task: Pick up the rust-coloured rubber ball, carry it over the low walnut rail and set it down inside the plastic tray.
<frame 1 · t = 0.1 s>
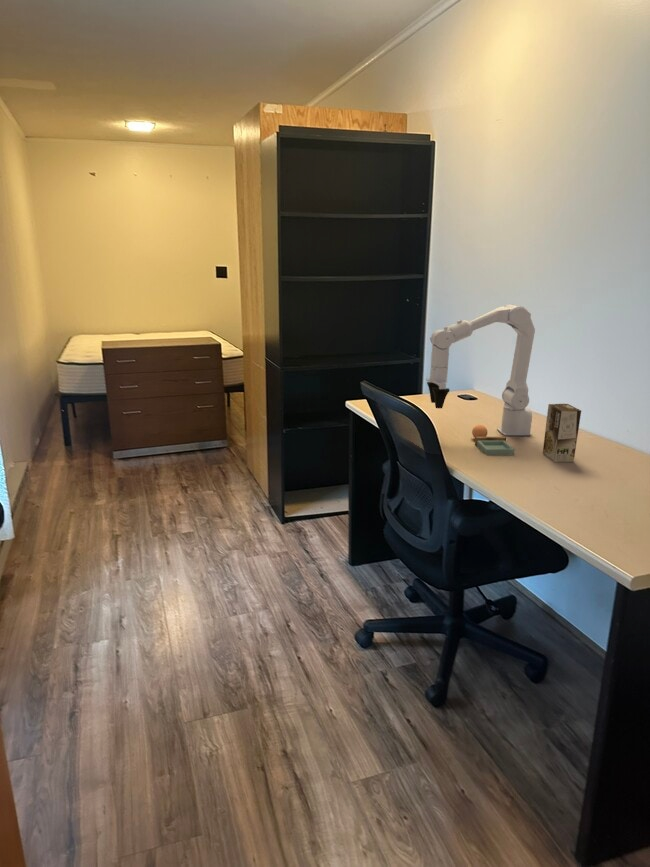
hand: (436, 405, 203), 10 cm above the table, tool pointing down, fingers open, 7 cm apart
rail: (490, 444, 195), on the table
tray: (495, 450, 189), on the table
coffee box: (557, 457, 183), on the table
ball: (479, 439, 200), on the table
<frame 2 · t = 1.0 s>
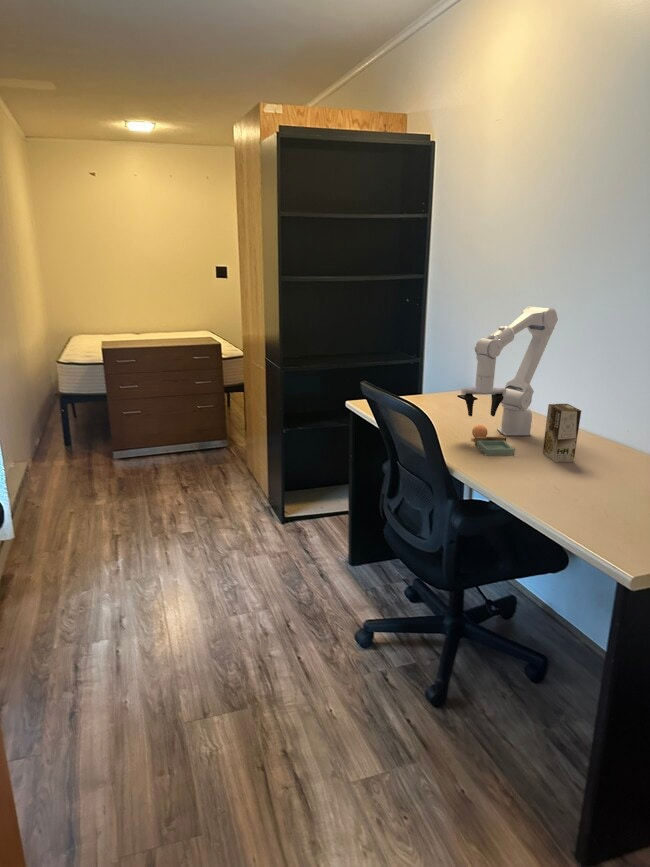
hand: (481, 415, 197), 8 cm above the table, tool pointing down, fingers open, 7 cm apart
nothing on the table moved.
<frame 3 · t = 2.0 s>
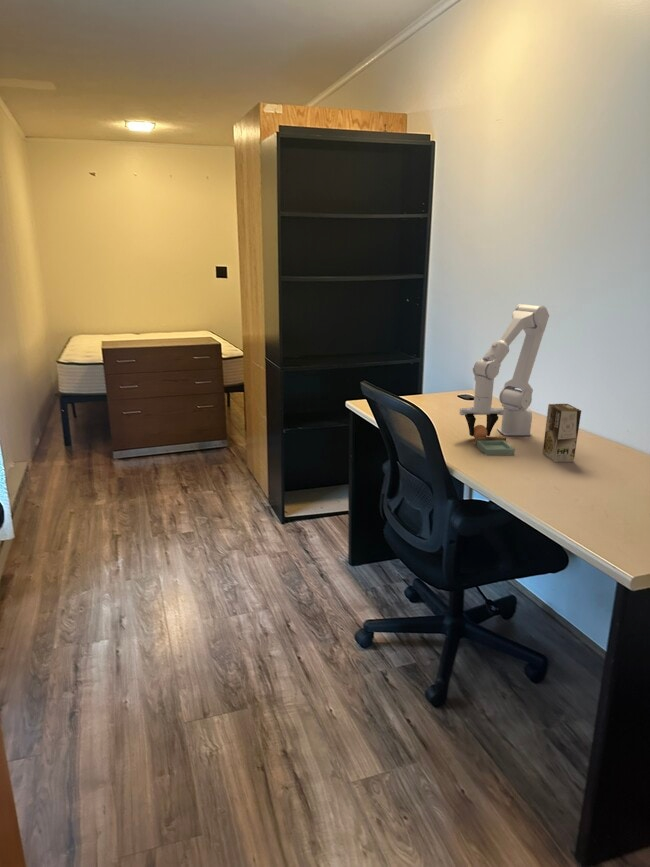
hand: (479, 435, 199), 1 cm above the table, tool pointing down, fingers closed on ball, 5 cm apart
ball: (479, 439, 200), on the table, touching gripper
everything else where it was.
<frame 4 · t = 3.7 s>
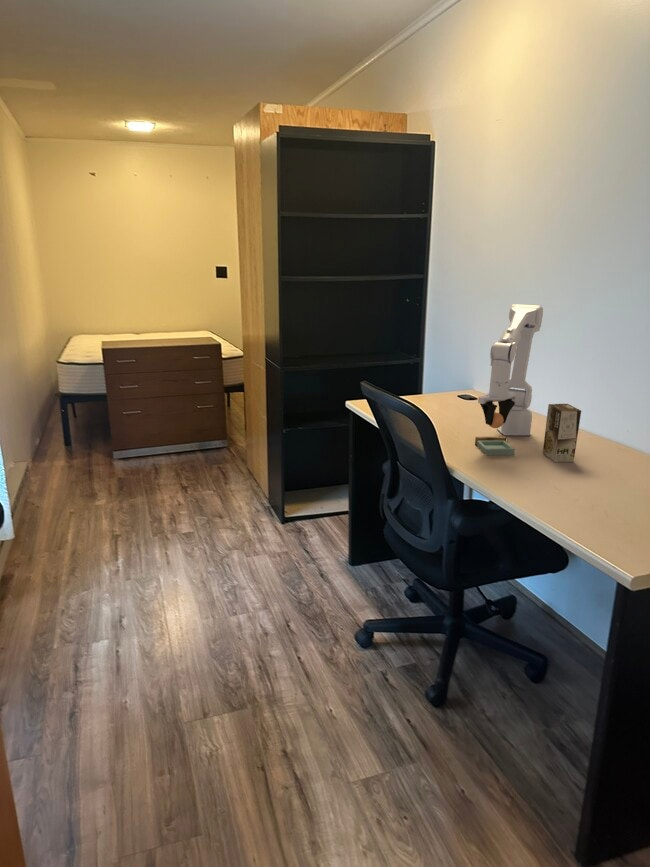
hand: (495, 423, 188), 9 cm above the table, tool pointing down, fingers closed on ball, 5 cm apart
ball: (494, 427, 188), point 7 cm above the table, touching gripper
everything else where it was.
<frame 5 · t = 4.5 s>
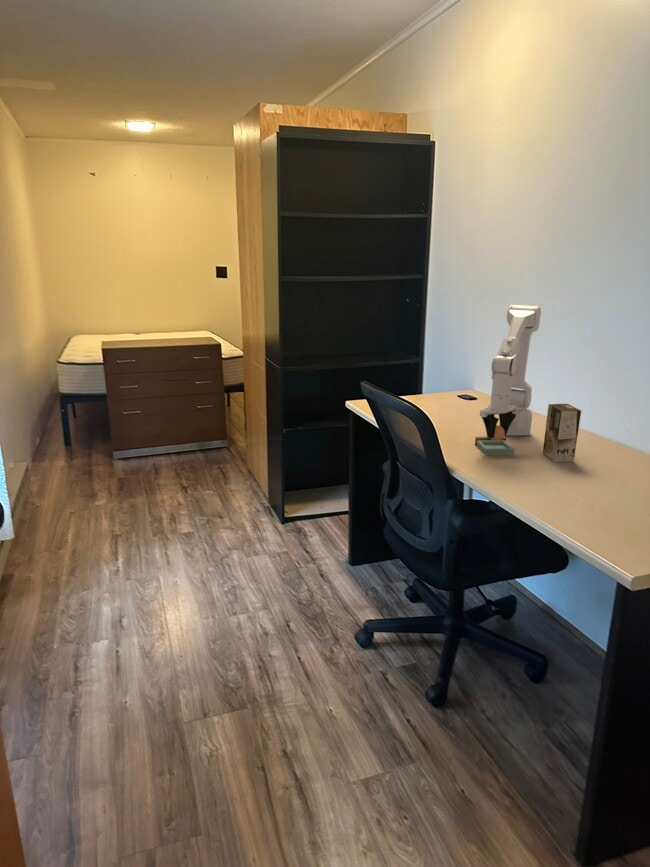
hand: (496, 436, 188), 5 cm above the table, tool pointing down, fingers closed on ball, 5 cm apart
ball: (495, 440, 188), point 3 cm above the table, touching gripper
everything else where it was.
when the fingers open (3 cm above the table, at t = 5.3 s): ball drops 1 cm, resting on tray.
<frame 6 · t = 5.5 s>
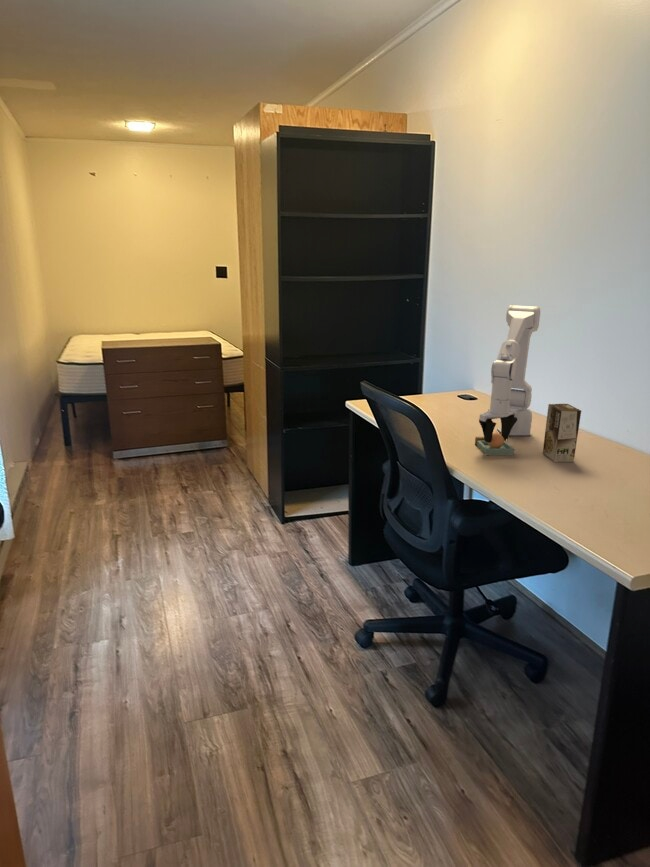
hand: (496, 440, 188), 3 cm above the table, tool pointing down, fingers open, 7 cm apart
ball: (494, 448, 189), point 1 cm above the table, touching tray
everything else where it was.
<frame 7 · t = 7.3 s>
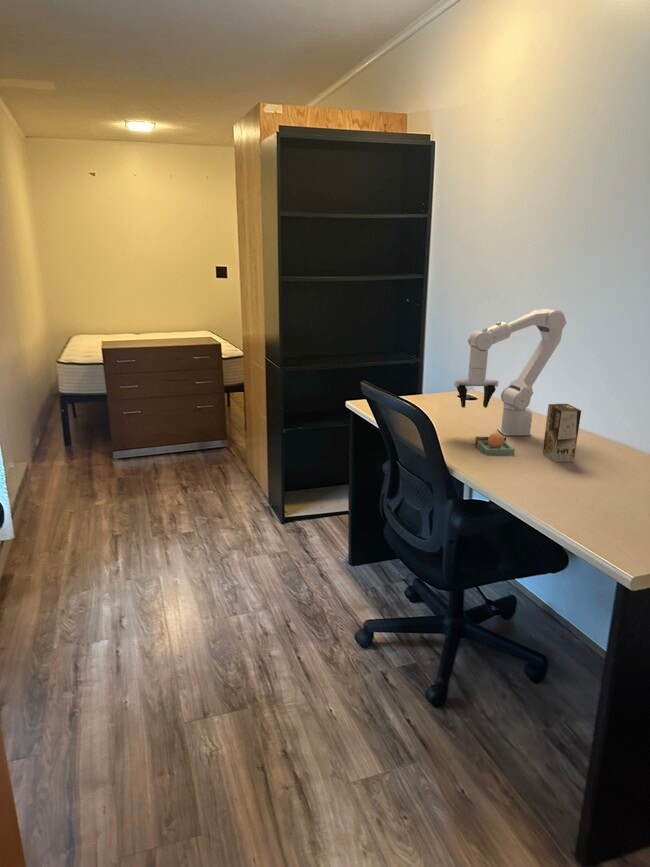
hand: (474, 407, 202), 10 cm above the table, tool pointing down, fingers open, 7 cm apart
nothing on the table moved.
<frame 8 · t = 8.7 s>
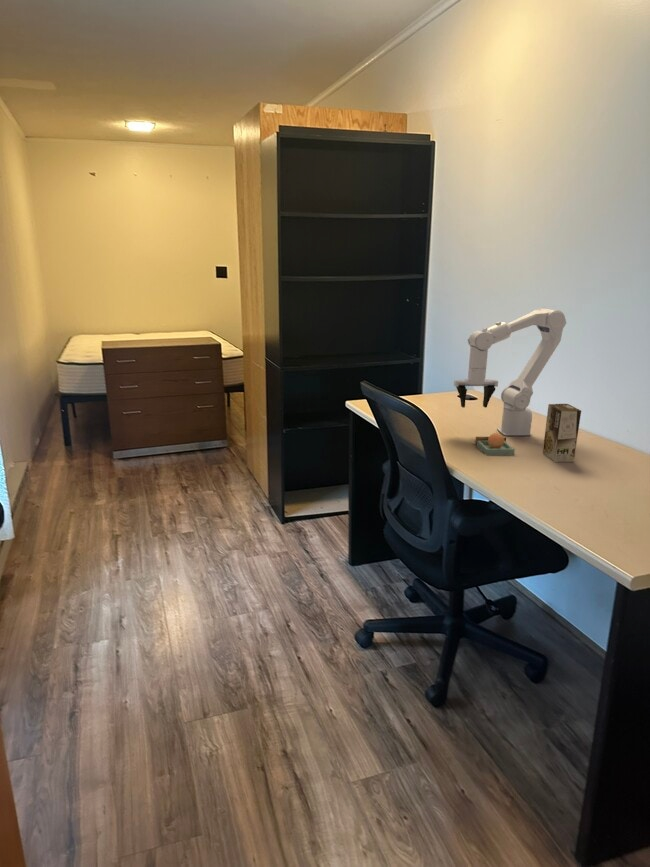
hand: (473, 406, 202), 10 cm above the table, tool pointing down, fingers open, 7 cm apart
nothing on the table moved.
at the end: ball inside the target area on the tray (0.1 cm from its centre), point 0.6 cm above the tray's base; the gripper is holding nothing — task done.
